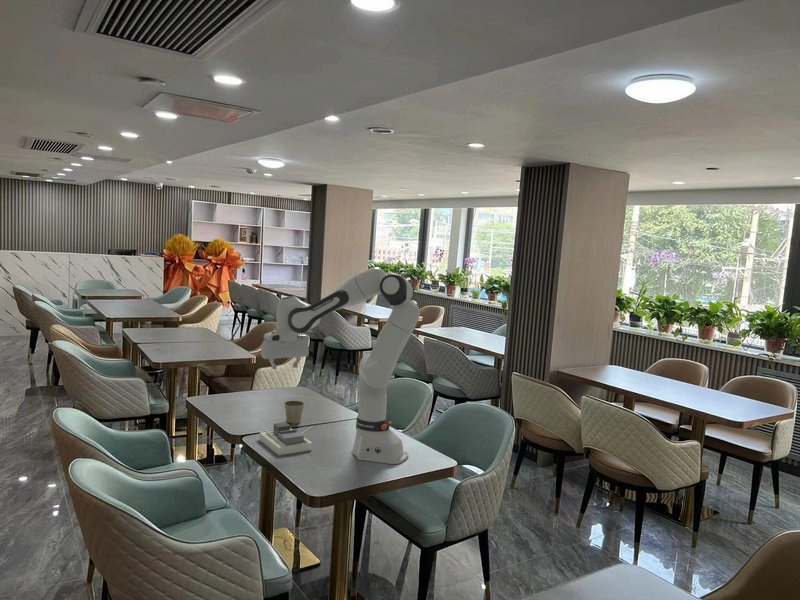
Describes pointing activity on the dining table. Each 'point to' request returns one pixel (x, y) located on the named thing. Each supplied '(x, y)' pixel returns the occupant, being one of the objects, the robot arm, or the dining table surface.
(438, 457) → the dining table surface
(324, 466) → the dining table surface
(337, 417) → the dining table surface
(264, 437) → the socket plate
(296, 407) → the flower pot
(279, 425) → the plug
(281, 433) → the cover
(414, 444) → the dining table surface
